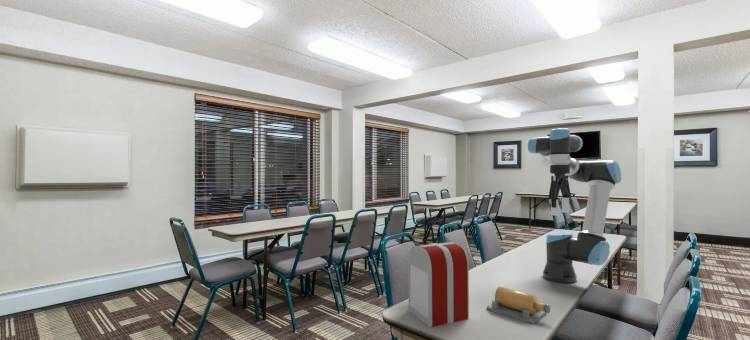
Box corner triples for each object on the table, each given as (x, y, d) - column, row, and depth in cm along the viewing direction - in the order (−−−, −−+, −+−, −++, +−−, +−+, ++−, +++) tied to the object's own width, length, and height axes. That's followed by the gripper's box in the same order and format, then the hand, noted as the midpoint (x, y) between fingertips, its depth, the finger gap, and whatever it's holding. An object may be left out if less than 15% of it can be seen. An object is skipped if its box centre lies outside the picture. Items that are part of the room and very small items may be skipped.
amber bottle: (495, 306, 134) (494, 289, 134) (503, 300, 139) (502, 284, 139) (545, 322, 120) (545, 303, 120) (552, 314, 125) (552, 296, 125)
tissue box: (407, 309, 133) (407, 242, 134) (444, 302, 140) (444, 238, 140) (430, 327, 118) (429, 251, 118) (470, 318, 125) (469, 246, 125)
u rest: (486, 309, 133) (486, 300, 133) (501, 300, 142) (501, 292, 142) (533, 324, 120) (533, 314, 120) (546, 313, 129) (546, 304, 129)
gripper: (559, 164, 132) (559, 217, 132) (578, 164, 150) (578, 212, 150) (539, 164, 138) (539, 215, 138) (560, 165, 155) (560, 210, 155)
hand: (560, 213), depth 144 cm, fingers open, 13 cm apart
